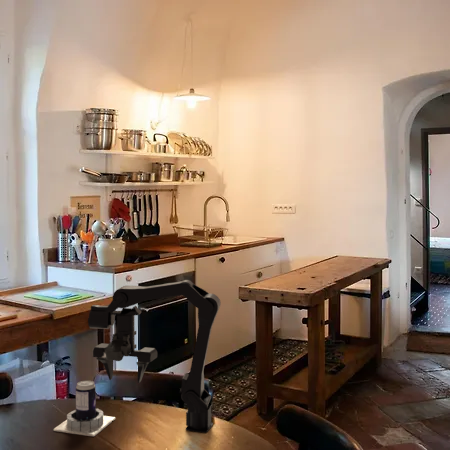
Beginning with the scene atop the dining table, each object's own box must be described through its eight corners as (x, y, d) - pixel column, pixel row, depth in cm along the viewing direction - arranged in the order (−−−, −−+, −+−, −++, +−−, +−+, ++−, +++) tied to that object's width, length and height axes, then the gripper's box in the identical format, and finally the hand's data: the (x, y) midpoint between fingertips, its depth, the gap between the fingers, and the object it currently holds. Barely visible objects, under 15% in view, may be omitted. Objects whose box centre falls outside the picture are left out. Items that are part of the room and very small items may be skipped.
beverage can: (97, 425, 171) (97, 384, 171) (77, 427, 169) (77, 387, 169) (93, 418, 177) (93, 379, 176) (74, 420, 174) (74, 381, 174)
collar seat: (115, 419, 177) (115, 409, 177) (94, 436, 165) (93, 425, 165) (77, 414, 181) (77, 404, 181) (53, 430, 169) (53, 420, 168)
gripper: (82, 333, 167) (82, 386, 168) (142, 338, 161) (142, 393, 163) (101, 324, 177) (101, 374, 178) (158, 329, 172) (158, 381, 173)
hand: (124, 381), depth 173 cm, fingers open, 9 cm apart
